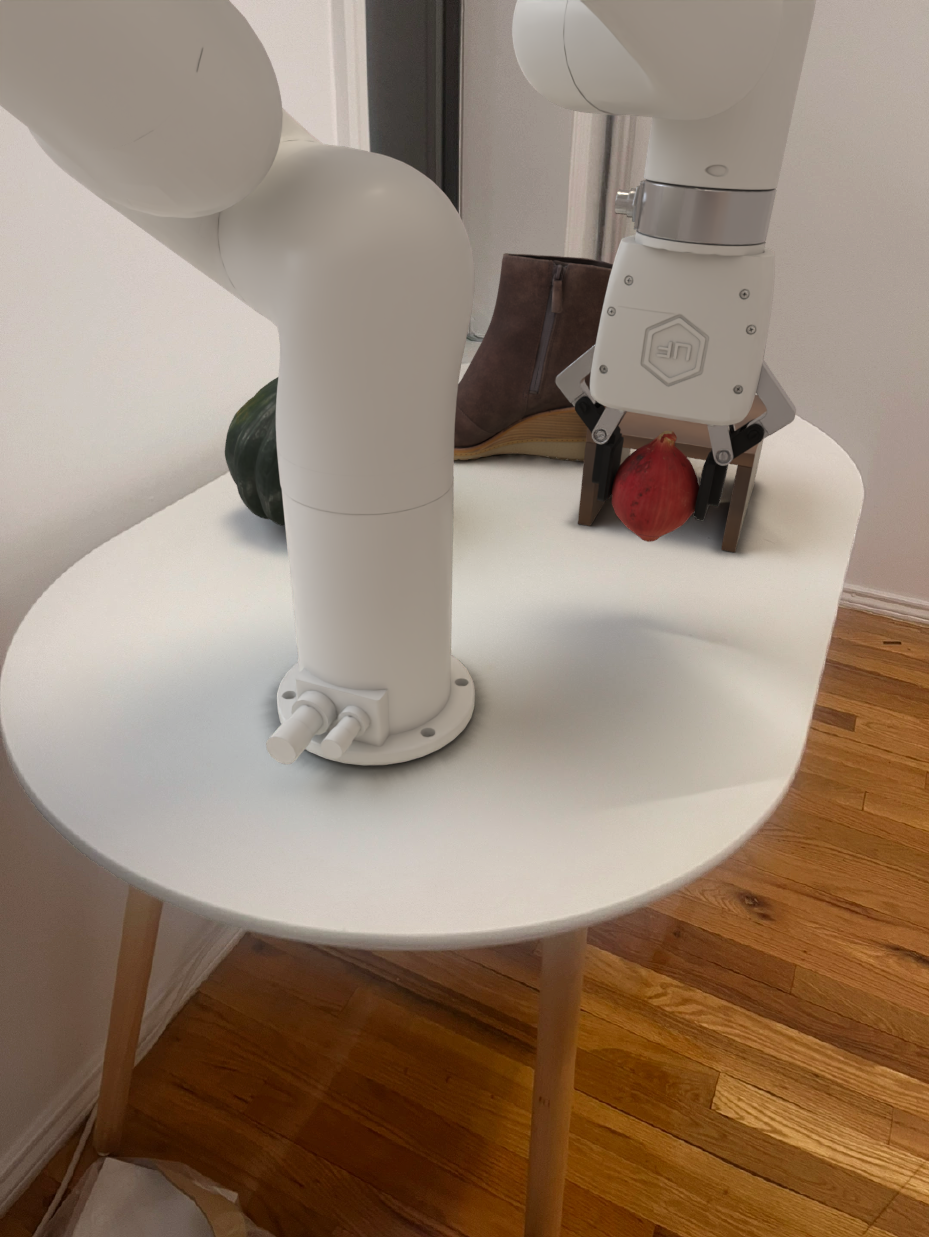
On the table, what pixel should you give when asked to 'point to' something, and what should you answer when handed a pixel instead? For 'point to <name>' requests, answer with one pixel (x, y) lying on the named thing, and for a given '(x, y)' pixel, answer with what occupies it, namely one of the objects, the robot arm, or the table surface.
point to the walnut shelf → (692, 445)
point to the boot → (531, 360)
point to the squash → (256, 455)
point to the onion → (655, 489)
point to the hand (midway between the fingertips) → (653, 501)
